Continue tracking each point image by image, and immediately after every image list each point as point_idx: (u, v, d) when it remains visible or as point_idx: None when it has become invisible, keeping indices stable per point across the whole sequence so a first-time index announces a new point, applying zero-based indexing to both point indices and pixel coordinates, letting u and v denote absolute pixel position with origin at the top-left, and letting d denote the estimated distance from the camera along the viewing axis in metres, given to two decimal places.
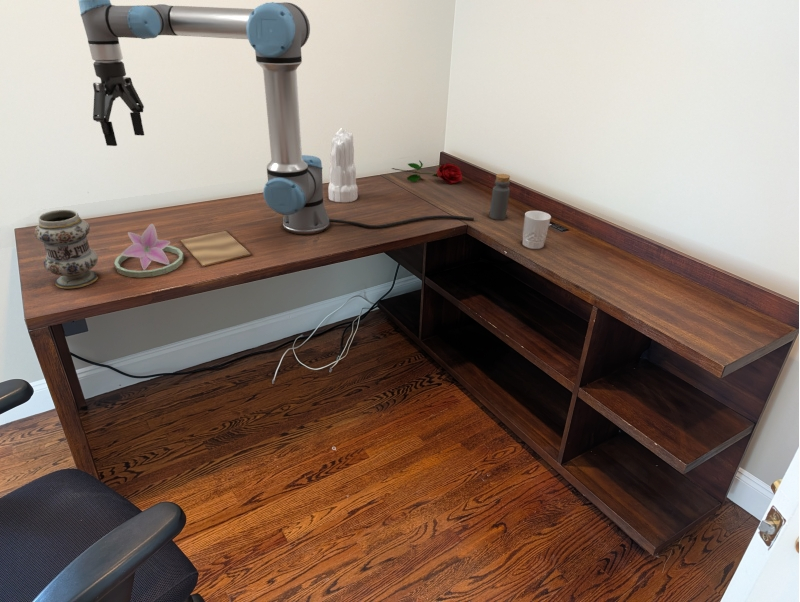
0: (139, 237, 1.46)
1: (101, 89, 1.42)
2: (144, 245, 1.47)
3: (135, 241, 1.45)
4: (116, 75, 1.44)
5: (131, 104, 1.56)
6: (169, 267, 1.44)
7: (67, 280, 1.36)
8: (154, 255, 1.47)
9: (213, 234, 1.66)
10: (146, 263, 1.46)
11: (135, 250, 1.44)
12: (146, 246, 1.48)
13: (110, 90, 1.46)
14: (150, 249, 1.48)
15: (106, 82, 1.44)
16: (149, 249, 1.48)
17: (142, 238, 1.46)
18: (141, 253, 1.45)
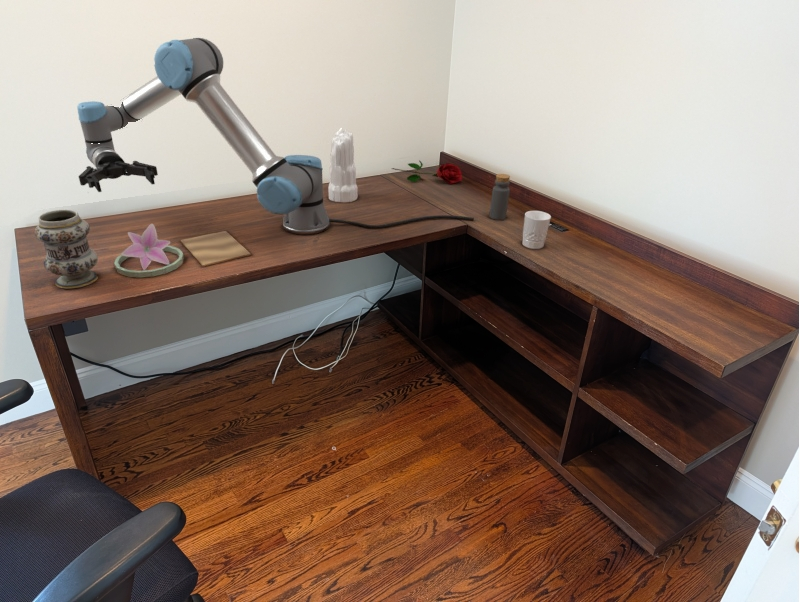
0: (139, 237, 1.46)
1: (86, 169, 1.51)
2: (144, 245, 1.47)
3: (135, 241, 1.45)
4: (101, 156, 1.55)
5: (138, 169, 1.54)
6: (169, 267, 1.44)
7: (67, 280, 1.36)
8: (154, 255, 1.47)
9: (213, 234, 1.66)
10: (146, 263, 1.46)
11: (135, 250, 1.44)
12: (146, 246, 1.48)
13: None
14: (150, 249, 1.48)
15: (98, 166, 1.54)
16: (149, 249, 1.48)
17: (142, 238, 1.46)
18: (141, 253, 1.45)
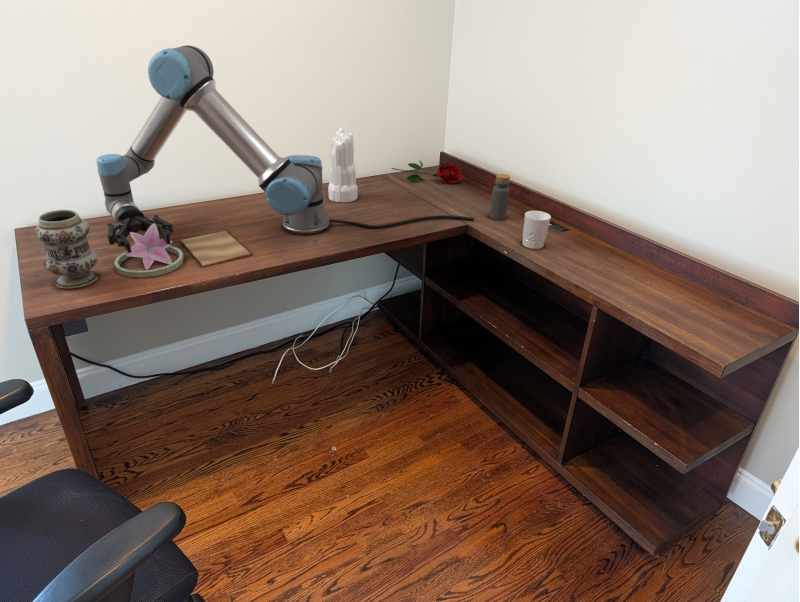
0: (141, 237, 1.46)
1: (108, 226, 1.48)
2: (146, 245, 1.47)
3: (137, 241, 1.45)
4: (121, 212, 1.52)
5: None
6: (169, 267, 1.44)
7: (67, 280, 1.36)
8: (157, 255, 1.47)
9: (213, 234, 1.66)
10: (149, 262, 1.46)
11: (137, 250, 1.44)
12: (148, 246, 1.48)
13: (121, 223, 1.50)
14: (152, 249, 1.48)
15: (117, 222, 1.51)
16: (151, 249, 1.48)
17: (144, 238, 1.46)
18: (143, 253, 1.46)
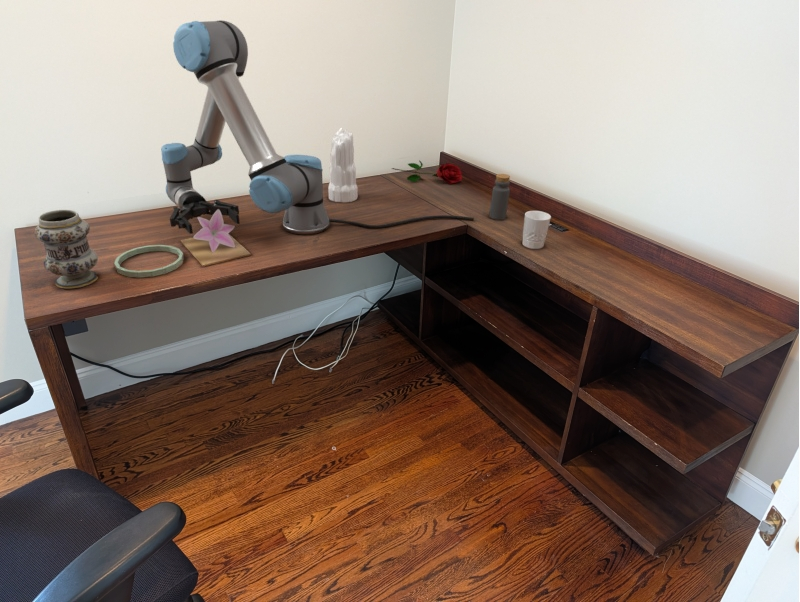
0: (207, 222, 1.55)
1: (173, 209, 1.58)
2: (211, 229, 1.57)
3: (204, 225, 1.54)
4: (185, 197, 1.61)
5: (221, 209, 1.60)
6: (169, 267, 1.44)
7: (67, 280, 1.36)
8: (221, 239, 1.57)
9: None
10: (214, 246, 1.55)
11: (204, 234, 1.54)
12: (213, 230, 1.57)
13: (187, 207, 1.59)
14: (217, 233, 1.58)
15: (183, 207, 1.60)
16: (215, 233, 1.58)
17: (210, 223, 1.55)
18: (210, 237, 1.55)
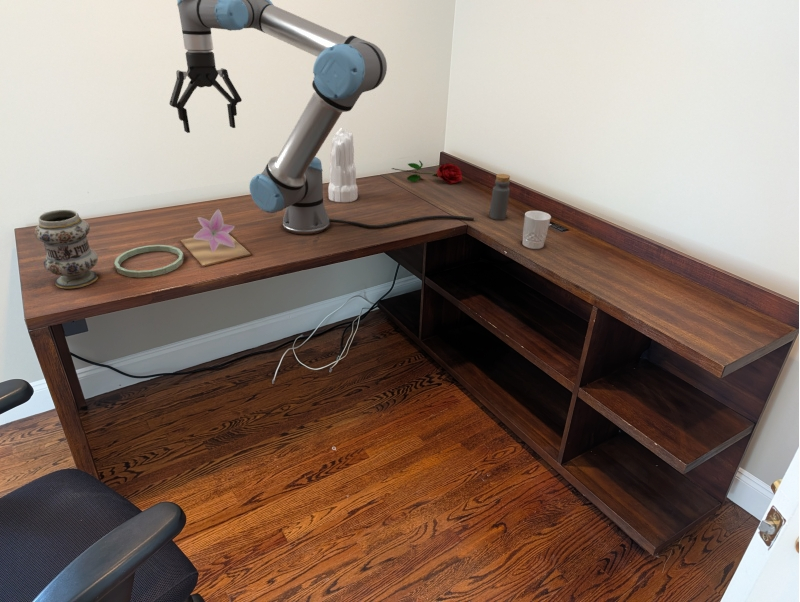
0: (207, 222, 1.55)
1: (178, 77, 1.46)
2: (211, 229, 1.57)
3: (204, 225, 1.54)
4: (197, 65, 1.46)
5: (224, 96, 1.56)
6: (169, 267, 1.44)
7: (67, 280, 1.36)
8: (221, 239, 1.57)
9: None
10: (214, 246, 1.55)
11: (204, 234, 1.54)
12: (213, 230, 1.57)
13: (193, 79, 1.48)
14: (217, 233, 1.58)
15: (189, 71, 1.47)
16: (215, 233, 1.58)
17: (210, 223, 1.55)
18: (210, 237, 1.55)
